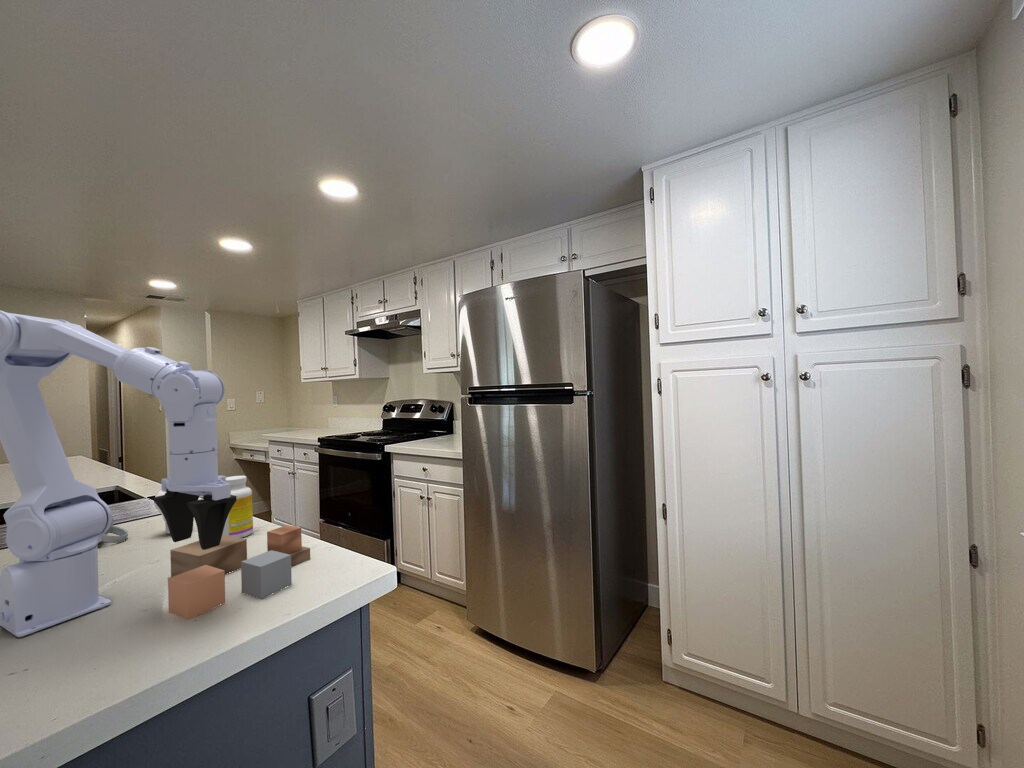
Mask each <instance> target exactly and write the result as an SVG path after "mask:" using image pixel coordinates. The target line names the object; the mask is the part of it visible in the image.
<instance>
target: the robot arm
mask: <svg viewBox="0 0 1024 768" xmlns="http://www.w3.org/2000/svg"><path fill="white" fill-rule="evenodd" d="M162 352H163V351H162V350H161V349H159V348H156V347H153V346H152V347H151V346H146V347H133V348H131V349H127V348H125V347H124V346H122V345H119V344H117V343H115V342H113V341H111V340H109V339H107V338H105V337H103V336H100V335H98V334H96V333H94V332H92V331H90V330H88V329H86V328H84V327H83V326H82V325H79V324H76V323H73V322H72V323H71V322H69V321H67V320H65V319H60V318H47V317H46V318H45V317H41V316H33V315H27V314H18V313H11V312H6V311H3V310H1V309H0V443H1V446H2V448H3V452H4V454H5V456H6V459H7V461H8V463H9V466H10V468H11V471H12V474H13V476H14V479H15V481H16V484H17V487H18V489H19V492H20V494H21V496H19V498H18V499H17V500H16V501H15V502H14V503H13V504H11V506H10V507H9V508H8V509H7V510H6V511H5V512H4V514H3V516H2V517H3V518H4V521H5V524H6V535H5V543H6V546H7V548H8V550H9V551H10V552H11V554H12V555H13V556H15V557H17V558H18V559H19V562H17V563H14V564H11V565H7V566H5V567H3V568H2V569H1V571H0V626H1V628H3V629H5V630H6V631H8V632H9V633H11V634H13V635H14V636H15V637H17V638H21V637H24V636H27V635H30V634H33V633H35V632H38V631H41V630H44V629H47V628H49V627H53V626H55V625H57V624H60V623H63V622H65V621H68V620H69V621H70V620H71V619H74V618H76V617H80V616H82V615H85V614H88V613H91V612H93V611H97V610H98V609H101V608H102V609H103V607H108V606H110V605H111V604H112V600H111V599H109V598H107V597H104V596H101V595H100V594H99V593H100V591H99V589H100V588H99V556H98V555H99V552H98V544H99V543H101V542H102V534H104V533H105V532H106V531H107V530H108V529H109V527H110V525H111V522H112V516H113V514H112V511H111V509H110V507H109V505H108V504H107V503H106V502H105V501H104V500H103V499H102V498H100V496H99V493H98V492H97V489H96V488H95V487H94V486H91V485H89V484H86V483H84V482H82V481H79V480H77V479H75V476H74V474H73V471H72V468H71V466H70V462H69V461H68V458H67V456H66V453H65V451H64V449H63V446H62V443H61V440H60V438H59V436H58V433H57V430H56V428H55V425H54V423H53V420H52V418H51V415H50V413H49V410H48V407H47V405H46V402H45V400H44V397H43V395H42V392H41V390H40V387H39V382H40V381H41V380H42V379H43V378H44V377H48V376H49V375H51V374H52V373H53V372H54V371H55V370H56V369H58V368H59V367H60V366H61V365H62V364H64V363H65V361H67V360H69V358H70V357H72V355H74V356H76V357H79V358H82V359H84V360H87V361H90V362H93V363H95V364H98V365H100V366H104V367H106V368H109V369H111V370H113V373H114V376H115V378H116V379H117V380H118V381H119V382H121V383H123V384H126V386H130V387H133V388H135V389H136V390H139V391H141V392H144V393H147V394H148V395H151V396H153V397H156V399H157V401H158V402H159V404H160V405H161V406H162V407H163V409H164V414H165V415H164V417H165V419H167V423H168V427H167V428H168V456H169V457H168V458H169V459H168V460H169V461H168V464H169V465H168V466H169V477H165V478H161V483H160V485H161V489H162V491H163V492H166V493H165V495H162V496H158V497H154V498H153V503H154V502H155V503H156V505H157V506H158V507H159V508H160V510H161V512H162V513H163V515H164V517H165V520H166V522H167V525H168V528H169V531H170V534H169V535H170V537H171V541H173V542H174V543H178V542H181V541H185V540H188V539H191V538H192V534H193V532H194V531H193V528H194V521H195V524H196V529H197V533H198V541H199V542H200V546H201V548H202V549H203V550H206V549H209V548H212V547H216V546H219V545H220V541H221V538H222V534H223V530H224V526H225V523H226V520H227V517H228V515H229V512H230V510H231V509H232V507H233V505H234V504H235V502H236V500H237V498H236V496H234V495H231V488H230V484H229V483H225V482H224V481H225V480H226V477H227V476H226V475H219V470H218V469H219V467H218V466H219V461H218V459H219V458H218V425H217V424H218V420H217V419H218V418H217V416H218V415H217V405H218V404H219V403H221V401H222V399H224V396H225V394H226V393H225V391H226V388H225V384H224V381H223V380H222V378H221V377H220V376H219V375H217V374H216V373H214V372H213V370H209V369H201V370H200V369H199V370H193V369H192V368H191V364H190V363H189V362H186V361H182V360H181V361H179V360H178V361H176V360H174V359H172V358H169V357H167V356H164V355H162ZM200 497H203V498H202V499H199V498H200ZM55 506H56V507H55ZM52 507H53V508H52ZM49 508H50V509H49ZM45 509H46V510H45Z"/></svg>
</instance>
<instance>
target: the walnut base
mask: <svg viewBox="0 0 1024 768" xmlns="http://www.w3.org/2000/svg"><path fill="white" fill-rule="evenodd" d="M247 541H248V540H247V539H246V538H236V537H231V536H225V535H222V538H221V541H220V545H219V546H216V547H212V548H209V549H206V550H203V549H202V548H201V546H200V542H199V540H197V541H194V542H191V543H188V544H185V545H181V546H179V547H176V548H172V549H170V550H169V551H170V576H171V577H173V576H176V575H179V574H181V573H184V572H187V571H190V570H193V569H195V568H198V567H201V566H204V565H208V566H211V567H215V568H218V569H221V570H225V574H226V575H228V574H230V573H229V572H231V573H232V571H233V572H236V571H237V569H238V570H240V568H241V561H244V560H247V559H248V545H247V543H248V542H247ZM235 570H236V571H235ZM227 573H228V574H227Z"/></svg>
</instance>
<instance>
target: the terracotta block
mask: <svg viewBox="0 0 1024 768" xmlns="http://www.w3.org/2000/svg"><path fill="white" fill-rule="evenodd" d="M225 577H226V575H225V570H221V569H218V568H215V567H211V566H208V565H204V566H201V567H198V568H195V569H193V570H190V571H187V572H184V573H181V574H179V575H176V576H173V577H167V596H168V599H167V600H168V601H167V603H168V605H167V606H168V614H172V615H174V616H175V617H180V618H181V619H185V620H186V621H188V619H189V620H191V619H193V618H195V617H194V616H196V615H198V616H200V615H203V614H204V613H207V612H208V610H209V611H211V610H213V609H215V608H214V607H216V606H218V605H220V604H222V605H224V604H223V603H225V604H226V580H225V579H226V578H225ZM220 606H221V605H220ZM218 607H219V606H218ZM212 608H213V609H212ZM216 608H217V607H216ZM210 609H211V610H210ZM206 611H207V612H206ZM199 614H200V615H199ZM192 617H193V618H192ZM196 617H197V616H196ZM190 618H191V619H190Z"/></svg>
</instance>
